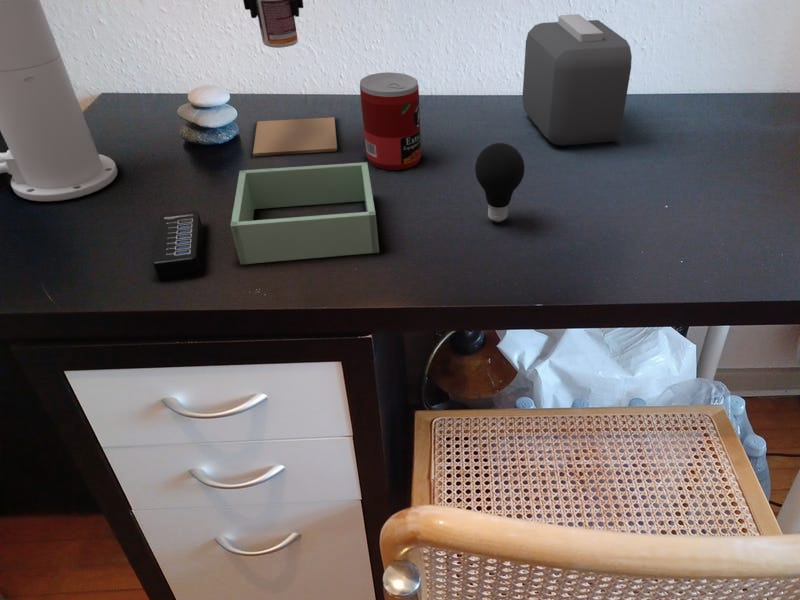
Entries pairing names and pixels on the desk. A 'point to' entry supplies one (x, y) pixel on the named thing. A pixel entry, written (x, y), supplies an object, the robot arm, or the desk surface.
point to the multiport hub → (178, 245)
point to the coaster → (295, 136)
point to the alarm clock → (576, 80)
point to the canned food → (391, 120)
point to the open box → (308, 232)
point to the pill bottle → (276, 23)
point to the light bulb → (499, 177)
